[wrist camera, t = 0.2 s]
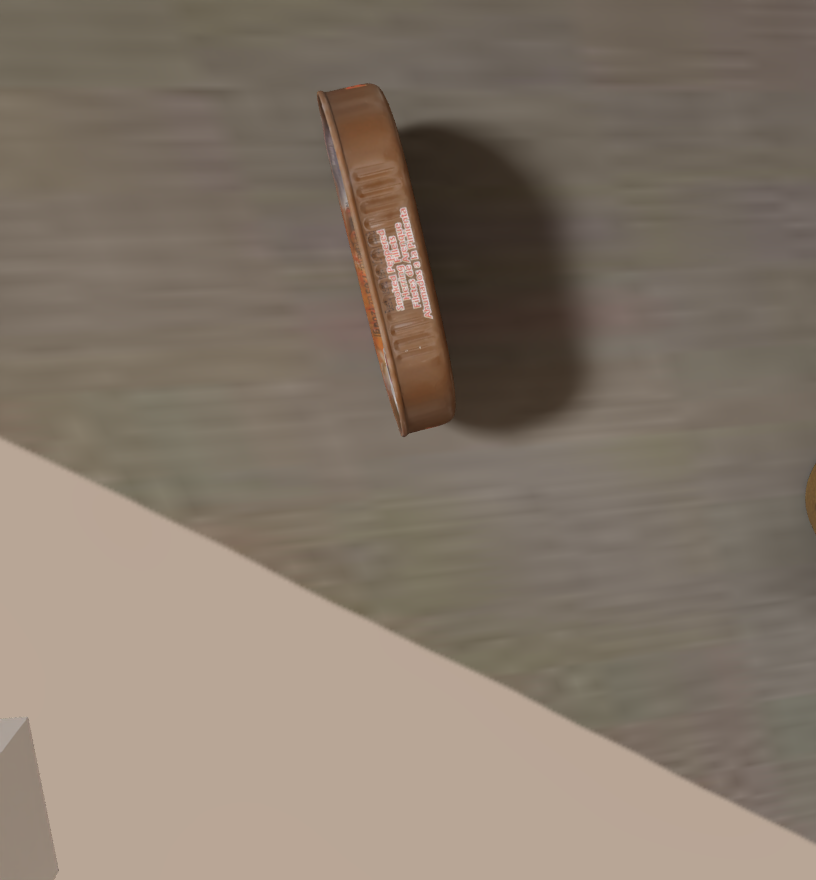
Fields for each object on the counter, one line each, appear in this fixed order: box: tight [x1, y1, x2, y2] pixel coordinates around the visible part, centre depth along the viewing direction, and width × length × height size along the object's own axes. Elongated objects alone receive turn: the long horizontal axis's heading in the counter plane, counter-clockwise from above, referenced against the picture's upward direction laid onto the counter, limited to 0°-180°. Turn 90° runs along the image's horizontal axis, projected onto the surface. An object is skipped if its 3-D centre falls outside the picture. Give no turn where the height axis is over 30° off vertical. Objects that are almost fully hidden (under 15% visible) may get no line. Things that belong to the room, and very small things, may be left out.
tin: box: [317, 83, 456, 437], centre depth 32 cm, size 15×3×8 cm, turn 13°
